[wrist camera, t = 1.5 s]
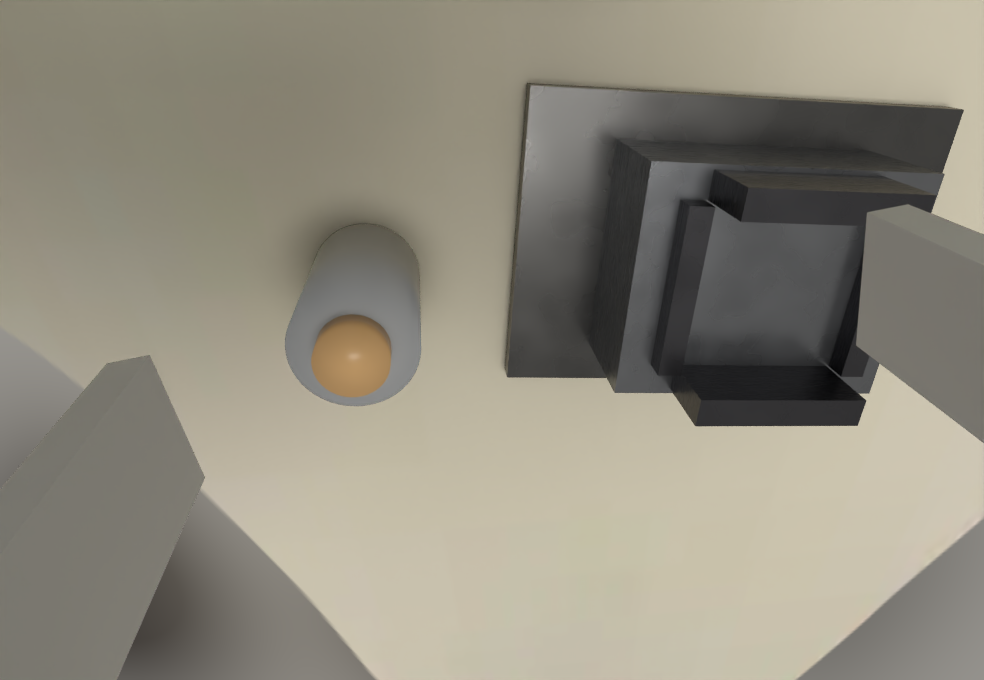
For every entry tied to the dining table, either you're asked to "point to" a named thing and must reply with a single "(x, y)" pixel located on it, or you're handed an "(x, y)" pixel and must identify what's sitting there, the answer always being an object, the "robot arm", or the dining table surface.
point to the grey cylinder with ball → (358, 318)
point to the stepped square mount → (709, 244)
